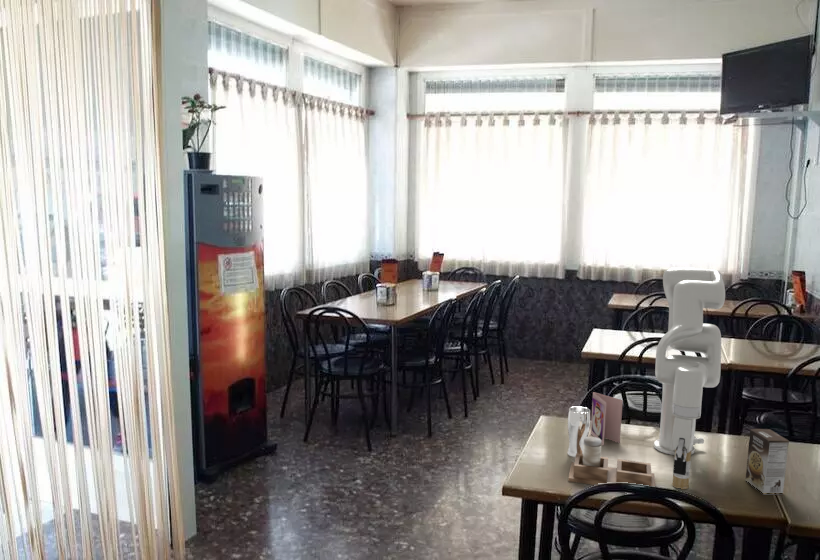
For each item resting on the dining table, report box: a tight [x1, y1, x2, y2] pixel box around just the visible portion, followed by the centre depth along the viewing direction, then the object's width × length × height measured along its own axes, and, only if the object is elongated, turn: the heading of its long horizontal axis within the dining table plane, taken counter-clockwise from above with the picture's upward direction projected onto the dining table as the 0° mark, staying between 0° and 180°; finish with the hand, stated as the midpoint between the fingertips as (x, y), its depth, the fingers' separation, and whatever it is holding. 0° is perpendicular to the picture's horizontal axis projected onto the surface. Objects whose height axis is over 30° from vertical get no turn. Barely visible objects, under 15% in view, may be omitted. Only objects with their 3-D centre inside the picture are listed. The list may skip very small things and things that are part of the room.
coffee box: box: [745, 428, 790, 494], centre depth 193 cm, size 9×6×16 cm
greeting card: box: [590, 391, 624, 447], centre depth 227 cm, size 11×7×15 cm, turn 6°
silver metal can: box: [567, 405, 591, 459], centre depth 214 cm, size 7×7×15 cm
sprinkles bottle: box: [671, 442, 692, 490], centre depth 192 cm, size 5×5×13 cm
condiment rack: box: [567, 436, 656, 486], centre depth 197 cm, size 24×12×11 cm, turn 72°
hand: (681, 468), depth 192 cm, fingers open, 9 cm apart
